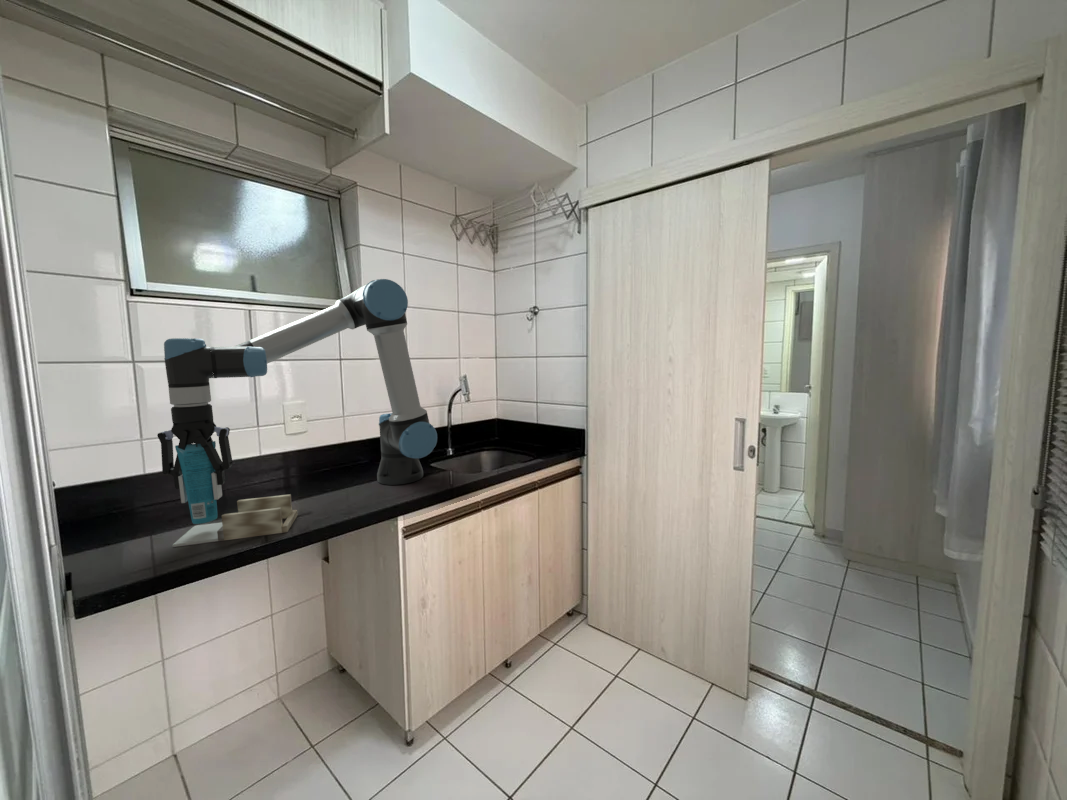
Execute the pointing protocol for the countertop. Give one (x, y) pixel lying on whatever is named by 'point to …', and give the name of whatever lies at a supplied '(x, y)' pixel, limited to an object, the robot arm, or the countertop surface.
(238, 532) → the rack
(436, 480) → the countertop surface
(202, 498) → the tube
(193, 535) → the mat
